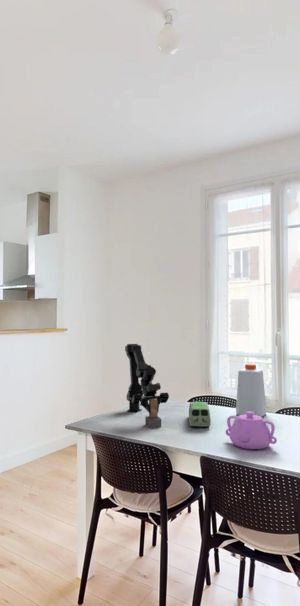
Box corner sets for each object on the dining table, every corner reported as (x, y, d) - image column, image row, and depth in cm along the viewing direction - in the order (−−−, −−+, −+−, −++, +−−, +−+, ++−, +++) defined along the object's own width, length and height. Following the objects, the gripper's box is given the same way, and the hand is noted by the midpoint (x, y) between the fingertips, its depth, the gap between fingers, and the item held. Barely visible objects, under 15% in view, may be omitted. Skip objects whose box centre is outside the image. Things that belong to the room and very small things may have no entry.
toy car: (208, 417, 206) (208, 398, 207) (211, 429, 182) (211, 408, 182) (188, 416, 207) (188, 398, 208) (189, 429, 183) (189, 408, 183)
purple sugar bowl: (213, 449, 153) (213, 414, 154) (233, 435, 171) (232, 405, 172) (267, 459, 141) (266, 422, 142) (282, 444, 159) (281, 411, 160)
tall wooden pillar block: (145, 424, 191) (145, 398, 191) (156, 423, 192) (156, 397, 193) (149, 428, 184) (149, 401, 185) (161, 427, 186) (161, 400, 186)
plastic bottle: (261, 419, 202) (261, 366, 204) (234, 415, 209) (233, 365, 211) (267, 413, 215) (266, 364, 217) (241, 410, 222) (241, 362, 224)
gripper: (133, 378, 190) (139, 404, 179) (167, 376, 196) (175, 402, 185) (129, 391, 197) (134, 417, 186) (162, 389, 203) (170, 415, 192)
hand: (154, 412), depth 187 cm, fingers closed on tall wooden pillar block, 3 cm apart
